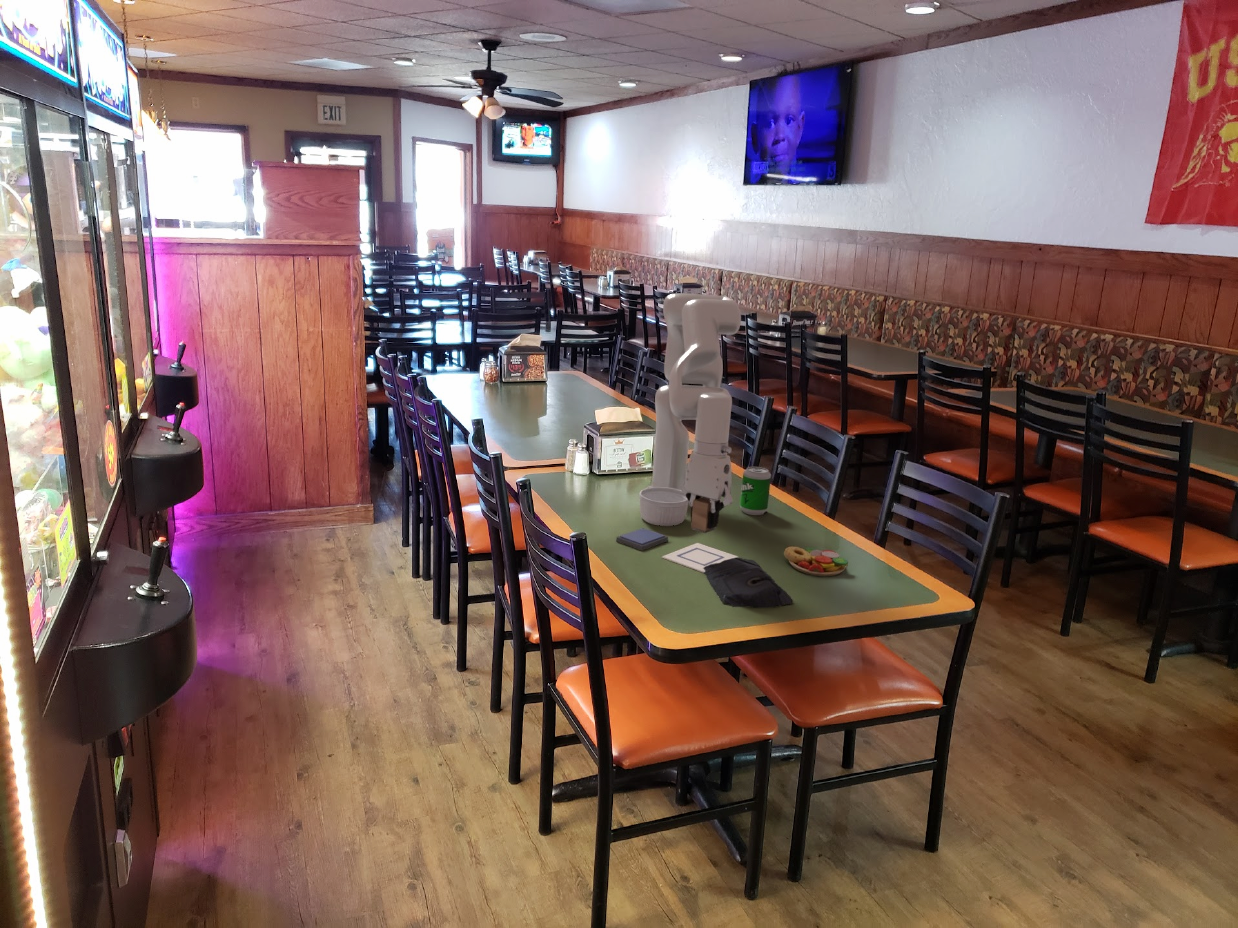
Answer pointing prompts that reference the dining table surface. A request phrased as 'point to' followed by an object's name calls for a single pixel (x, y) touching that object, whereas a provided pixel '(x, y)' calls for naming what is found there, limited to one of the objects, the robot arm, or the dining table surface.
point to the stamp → (701, 515)
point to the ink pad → (642, 539)
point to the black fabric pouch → (745, 584)
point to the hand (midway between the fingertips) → (703, 524)
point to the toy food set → (815, 561)
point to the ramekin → (663, 506)
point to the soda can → (755, 490)
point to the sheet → (698, 556)
